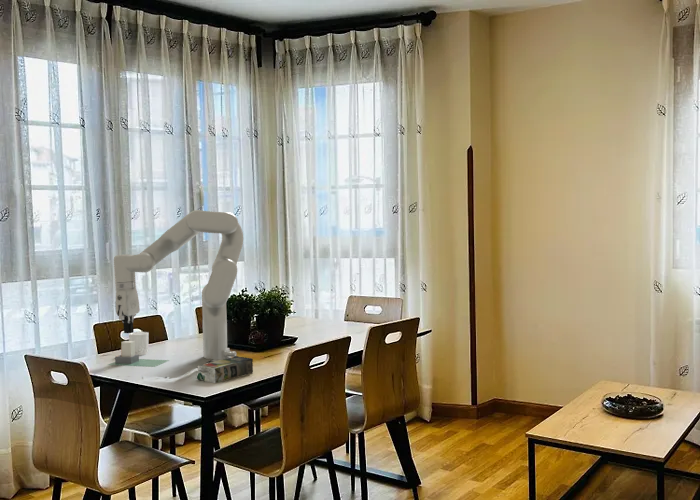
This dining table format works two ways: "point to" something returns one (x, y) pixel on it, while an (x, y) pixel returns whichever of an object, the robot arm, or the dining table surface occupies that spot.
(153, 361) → the board
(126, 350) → the cream rectangular block
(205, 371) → the juice carton
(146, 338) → the white cup
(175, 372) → the dining table surface
